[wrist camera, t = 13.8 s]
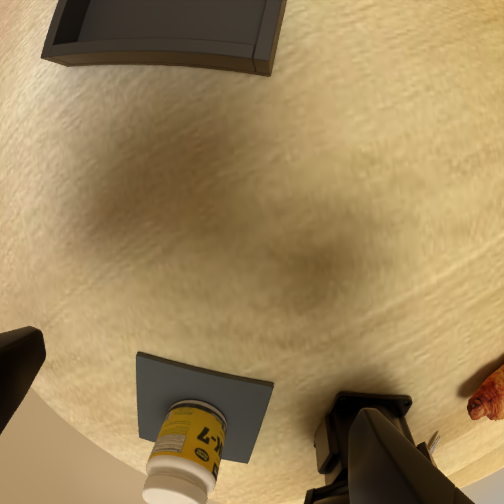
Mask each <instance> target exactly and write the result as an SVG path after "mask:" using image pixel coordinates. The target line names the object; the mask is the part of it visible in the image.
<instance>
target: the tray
mask: <svg viewBox="0 0 504 504" xmlns="http://www.w3.org/2000/svg"><path fill="white" fill-rule="evenodd" d="M286 2H287V0H59V1H58V3H57V6H56V9H55V12H54V15H53V18H52V21H51V24H50V27H49V30H48V33H47V36H46V40H45V43H44V47H43V50H42V54H41V59H45V60H48V61H51V62H55V63H58V64H61V65H64V66H67V67H69V66H83V65H104V64H154V65H175V66H190V67H202V68H212V69H221V70H229V71H237V72H244V73H251V74H257V75H264V76H271V73H272V68H273V63H274V58H275V53H276V49H277V44H278V39H279V34H280V30H281V25H282V20H283V16H284V11H285V6H286Z"/></svg>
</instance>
